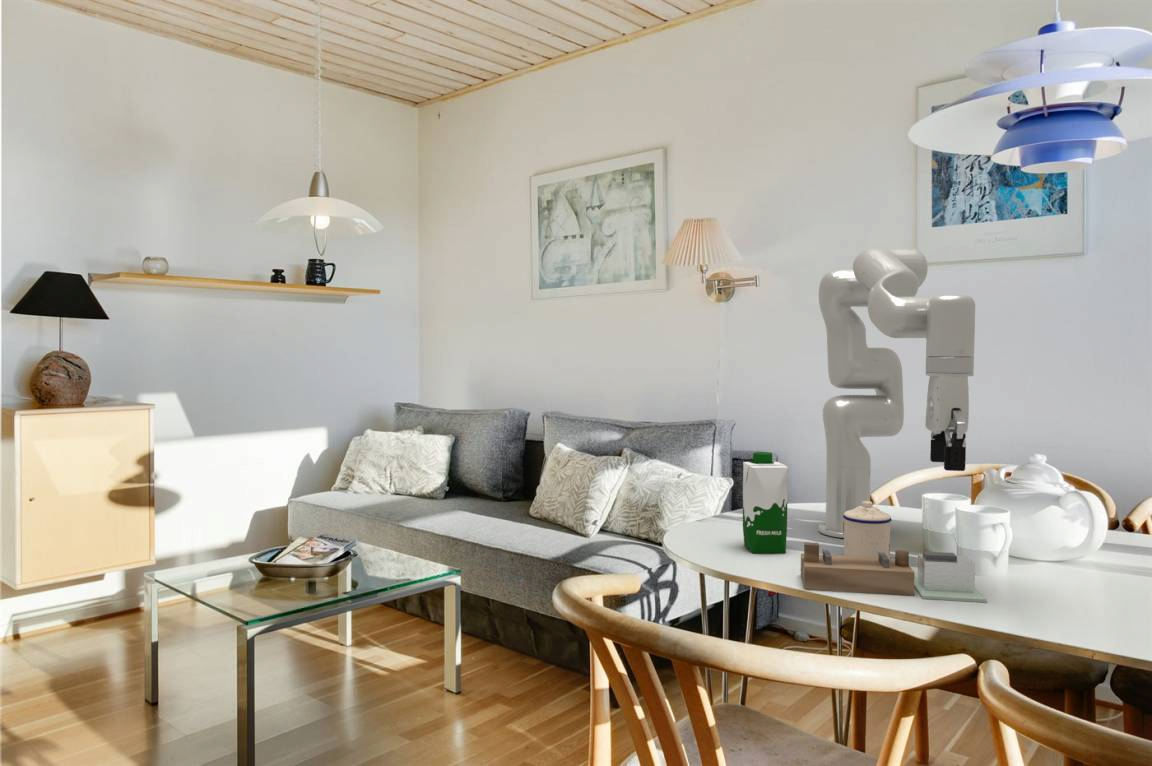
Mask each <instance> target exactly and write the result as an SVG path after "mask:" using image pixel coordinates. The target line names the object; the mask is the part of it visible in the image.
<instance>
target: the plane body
mask: <svg viewBox="0 0 1152 766" xmlns="http://www.w3.org/2000/svg"><path fill="white" fill-rule="evenodd" d="M803 544H804V545H803V546H804V547H803V553H801V554H800V578H801V581H802V585H803V588H804V590H810V591H811V590H813V591H827V592H828V591H829V592H831V591H832V592H846V593H847V592H848V593H862V594H863V593H865V594H879V595H882V594H883V595H894V596H895V595H897V596H911V597H912V596H915V588H914V576H915V571H914V570H913V568H912V567H911V566H910V564H909V561H910V560H909V557H910V553H909V551H908V550H903V549H896V550H895V551H894V552H895V553H894V554H895V555H894V558H891V557H890V558H888V557H887V555H886V554H885V553H884V552H878V558H876V557H856V556H844V555H835V554H833V555H832V554H831V552H830V550H829V549H822V554H820V545H819V542H809V541H808V542H806V541H805V542H803Z"/></svg>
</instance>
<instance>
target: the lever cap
mask: <svg viewBox="0 0 1152 766" xmlns="http://www.w3.org/2000/svg"><path fill="white" fill-rule="evenodd" d="M975 567H976V563H974V561H973V560H971V559H970V558H969V557H968V556H967V555H965V556H964V555H956V554H955V553H954V552H941V551H922V553H918V554H917V577H918V583H919V584H920V586H921V587H922V588H923V589H924V590H932V591H950V592H969V593H974V587H975V571H976V570H975V569H976V568H975Z"/></svg>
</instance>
